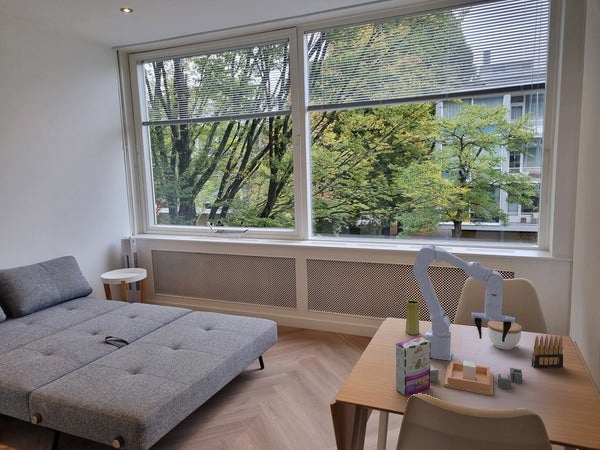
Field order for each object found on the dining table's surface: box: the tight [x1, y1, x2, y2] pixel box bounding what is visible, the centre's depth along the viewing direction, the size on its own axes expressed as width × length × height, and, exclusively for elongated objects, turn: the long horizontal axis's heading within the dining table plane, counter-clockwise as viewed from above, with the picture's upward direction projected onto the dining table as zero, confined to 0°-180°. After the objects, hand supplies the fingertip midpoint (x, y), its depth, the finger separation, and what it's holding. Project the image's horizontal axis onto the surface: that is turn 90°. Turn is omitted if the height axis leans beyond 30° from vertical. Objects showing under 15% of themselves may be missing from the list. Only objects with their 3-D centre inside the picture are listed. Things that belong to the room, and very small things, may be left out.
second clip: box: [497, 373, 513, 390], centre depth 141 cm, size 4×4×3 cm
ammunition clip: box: [531, 335, 564, 369], centre depth 153 cm, size 11×2×12 cm, turn 91°
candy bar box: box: [395, 336, 431, 397], centre depth 138 cm, size 11×5×16 cm, turn 117°
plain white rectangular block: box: [462, 360, 477, 381], centre depth 144 cm, size 4×4×5 cm
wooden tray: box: [443, 360, 494, 396], centre depth 144 cm, size 15×15×3 cm
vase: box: [404, 299, 420, 336], centre depth 187 cm, size 6×6×14 cm
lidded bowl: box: [487, 320, 523, 351], centre depth 172 cm, size 13×13×11 cm
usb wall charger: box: [430, 363, 439, 383], centre depth 148 cm, size 4×7×4 cm, turn 14°
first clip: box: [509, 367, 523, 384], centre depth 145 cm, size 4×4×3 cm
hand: (491, 339), depth 156 cm, fingers open, 7 cm apart
